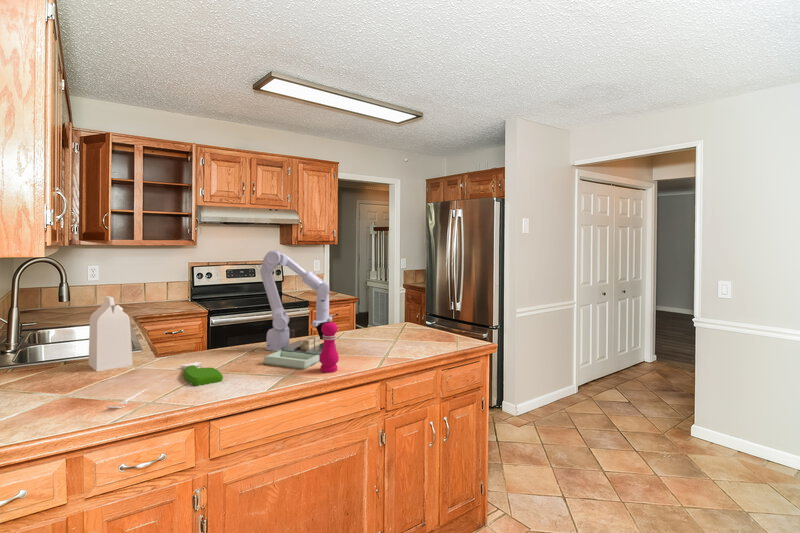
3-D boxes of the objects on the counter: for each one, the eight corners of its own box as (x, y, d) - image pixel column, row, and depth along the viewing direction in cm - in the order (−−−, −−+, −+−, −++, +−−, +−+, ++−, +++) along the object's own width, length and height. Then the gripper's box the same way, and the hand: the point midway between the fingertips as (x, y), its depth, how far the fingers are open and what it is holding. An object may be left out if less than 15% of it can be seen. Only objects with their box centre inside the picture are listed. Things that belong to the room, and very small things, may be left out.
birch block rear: (306, 346, 188) (306, 337, 188) (311, 344, 192) (311, 335, 192) (315, 347, 187) (315, 338, 187) (319, 345, 191) (319, 336, 191)
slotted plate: (281, 356, 183) (281, 347, 183) (299, 348, 196) (299, 340, 196) (319, 361, 177) (319, 351, 177) (335, 353, 190) (335, 344, 190)
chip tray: (264, 364, 172) (264, 356, 172) (281, 356, 182) (281, 349, 182) (304, 369, 166) (304, 361, 166) (319, 361, 177) (319, 353, 177)
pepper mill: (342, 370, 166) (343, 318, 165) (327, 374, 160) (327, 320, 159) (330, 366, 171) (331, 315, 169) (315, 370, 165) (315, 317, 164)
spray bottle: (192, 388, 144) (173, 371, 163) (226, 381, 151) (204, 366, 170) (192, 379, 144) (173, 363, 163) (226, 373, 151) (204, 358, 170)
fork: (154, 389, 143) (154, 384, 143) (116, 412, 123) (116, 406, 123) (144, 389, 143) (144, 384, 143) (104, 412, 123) (104, 406, 123)
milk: (88, 364, 166) (86, 296, 165) (123, 358, 175) (121, 294, 173) (96, 371, 158) (95, 300, 157) (132, 365, 167) (131, 297, 165)
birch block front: (300, 349, 184) (300, 339, 183) (305, 347, 187) (305, 337, 187) (309, 350, 182) (309, 340, 182) (313, 348, 186) (313, 338, 186)
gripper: (322, 312, 188) (322, 343, 189) (338, 307, 202) (337, 336, 203) (308, 311, 190) (307, 342, 191) (324, 306, 204) (324, 335, 205)
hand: (322, 339), depth 197 cm, fingers closed
